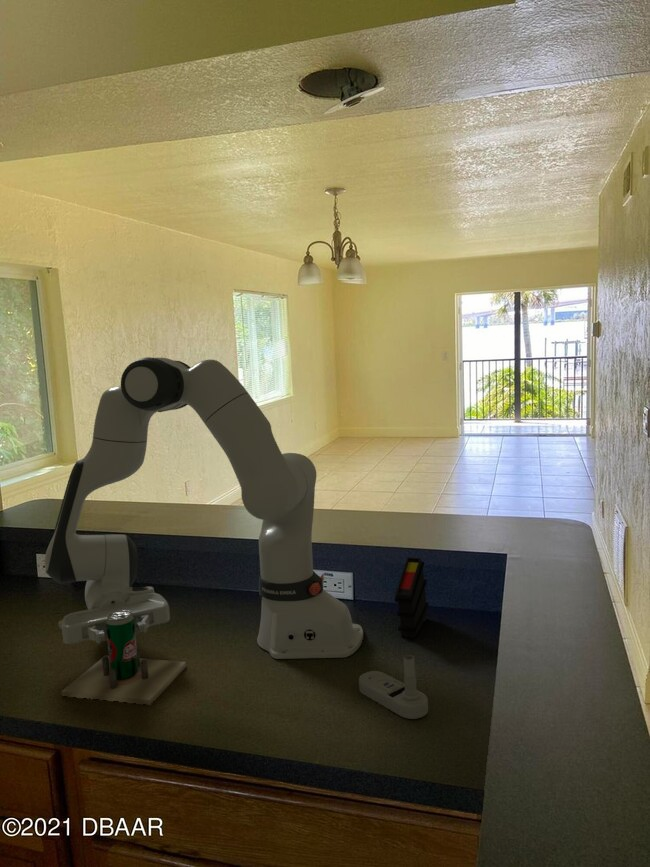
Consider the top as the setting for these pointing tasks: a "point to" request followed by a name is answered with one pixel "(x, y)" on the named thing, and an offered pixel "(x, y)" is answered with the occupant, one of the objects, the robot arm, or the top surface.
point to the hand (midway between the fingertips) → (122, 634)
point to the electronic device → (396, 691)
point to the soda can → (122, 644)
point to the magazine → (411, 597)
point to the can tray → (125, 681)
